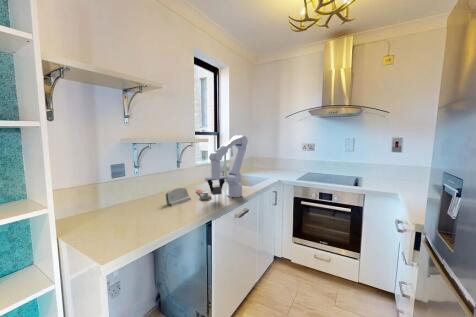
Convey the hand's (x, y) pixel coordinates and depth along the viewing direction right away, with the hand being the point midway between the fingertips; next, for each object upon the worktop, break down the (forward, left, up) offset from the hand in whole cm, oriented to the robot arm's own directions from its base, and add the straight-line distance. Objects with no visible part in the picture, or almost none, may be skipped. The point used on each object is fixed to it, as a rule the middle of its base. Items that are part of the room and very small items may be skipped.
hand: (216, 190), depth 140 cm
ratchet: (+5, -16, -7) cm, 19 cm away
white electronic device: (+23, -9, -7) cm, 26 cm away
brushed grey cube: (0, 0, -2) cm, 2 cm away
